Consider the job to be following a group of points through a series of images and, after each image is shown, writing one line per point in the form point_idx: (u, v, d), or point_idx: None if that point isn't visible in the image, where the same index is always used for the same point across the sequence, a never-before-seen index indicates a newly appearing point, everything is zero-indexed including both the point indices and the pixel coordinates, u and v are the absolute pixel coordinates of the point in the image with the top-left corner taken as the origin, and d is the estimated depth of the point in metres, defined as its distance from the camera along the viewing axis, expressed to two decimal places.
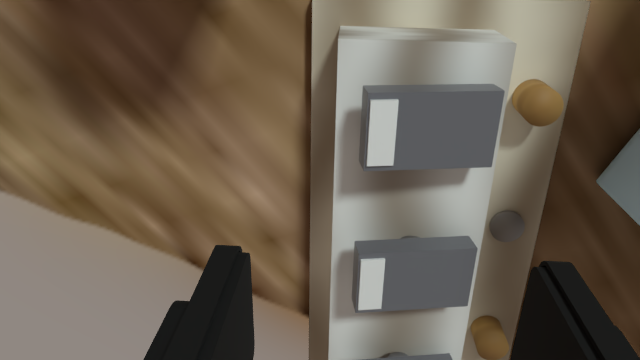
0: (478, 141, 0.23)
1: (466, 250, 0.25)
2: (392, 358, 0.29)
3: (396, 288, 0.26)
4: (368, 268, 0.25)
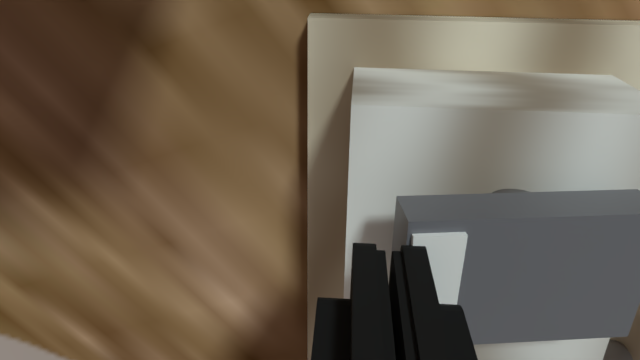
0: (609, 297, 0.12)
1: None
2: None
3: None
4: None
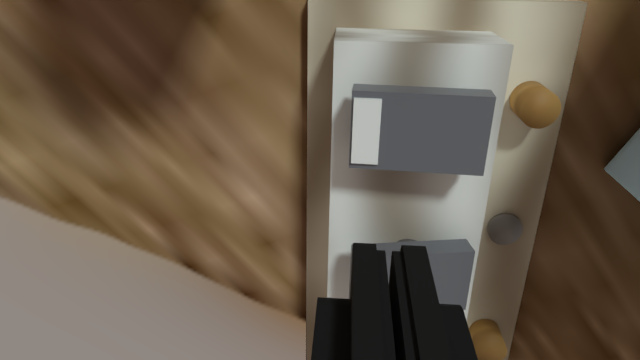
0: (468, 147, 0.22)
1: (464, 253, 0.25)
2: None
3: None
4: None
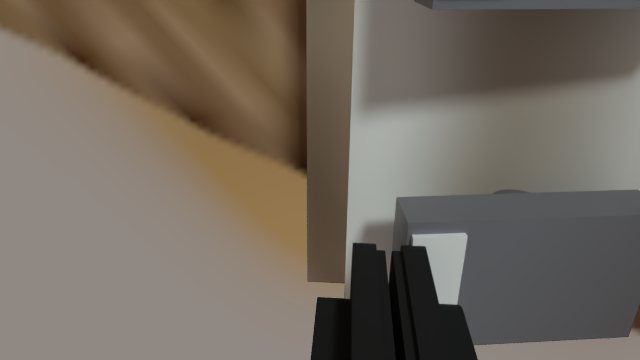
0: None
1: None
2: (503, 195, 0.12)
3: None
4: None
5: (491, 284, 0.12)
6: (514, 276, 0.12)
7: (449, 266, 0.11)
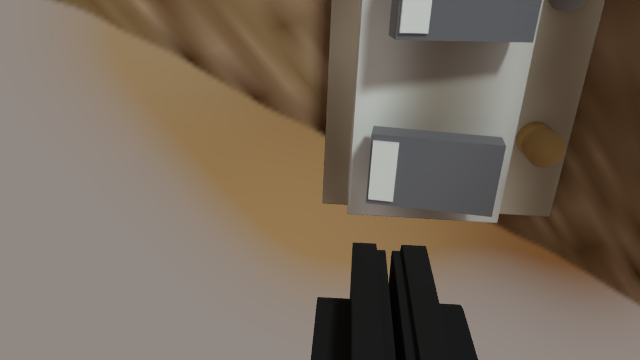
0: None
1: None
2: (427, 131, 0.24)
3: (449, 4, 0.21)
4: None
5: (413, 173, 0.24)
6: (425, 170, 0.24)
7: (390, 158, 0.24)
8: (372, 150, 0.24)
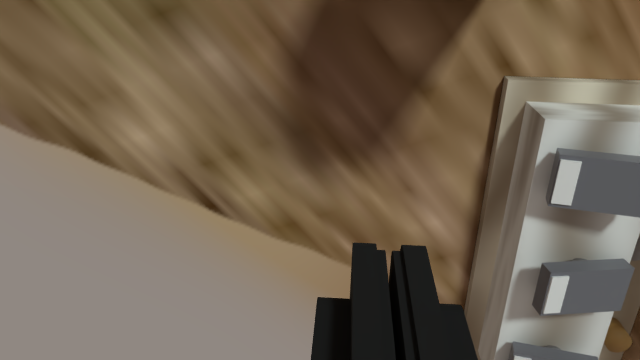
0: None
1: (626, 269, 0.35)
2: (548, 348, 0.39)
3: (572, 297, 0.35)
4: (556, 283, 0.34)
5: None
6: None
7: None
8: None
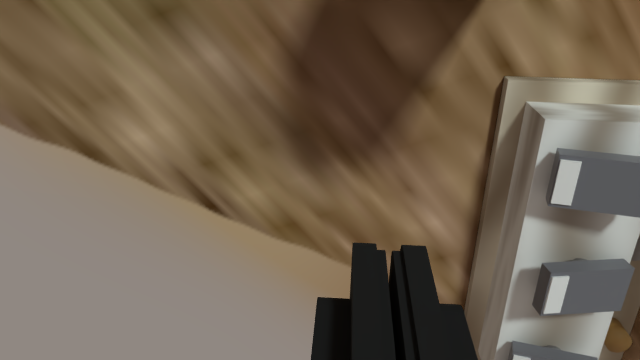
0: None
1: (627, 270, 0.35)
2: (547, 348, 0.39)
3: (572, 297, 0.35)
4: (556, 283, 0.34)
5: None
6: None
7: None
8: None
